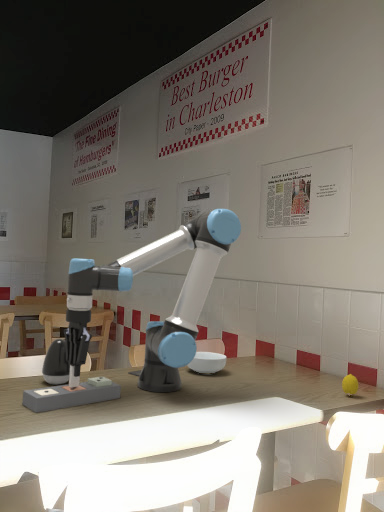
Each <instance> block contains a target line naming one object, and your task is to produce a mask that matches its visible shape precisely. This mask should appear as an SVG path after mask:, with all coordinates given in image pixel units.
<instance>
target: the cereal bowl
mask: <svg viewBox="0 0 384 512" xmlns="http://www.w3.org/2000/svg"><path fill="white" fill-rule="evenodd" d="M226 364H227V356H226V355H225V354H222V353H218V352H210V351H196V355H195V357H194V359H193V360H192V361H191V362H190V363H189V364H188V365H186V366H187V367H188V368H189V369H191V370H192V371H194V372H195V371H196V372H199V373H214V374H215V373H216V372H219V371H221V370H223V369H224V368H225V366H226ZM196 372H195V373H196ZM199 373H198V374H199Z"/></svg>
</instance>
